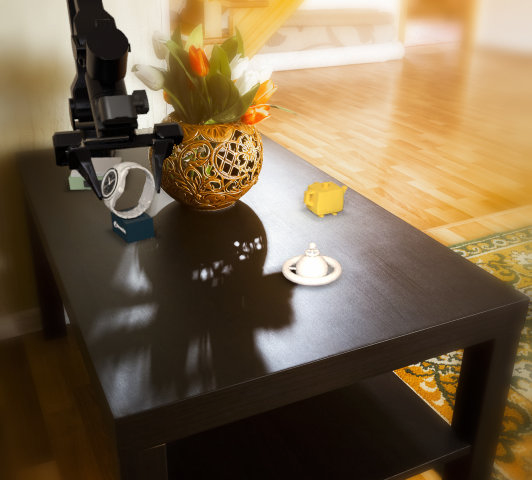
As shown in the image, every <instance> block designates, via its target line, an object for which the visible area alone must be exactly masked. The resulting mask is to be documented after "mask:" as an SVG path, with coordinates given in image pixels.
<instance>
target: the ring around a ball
mask: <svg viewBox="0 0 532 480" xmlns="http://www.w3.org/2000/svg"><path fill="white" fill-rule="evenodd" d="M293 266H295V267H293ZM329 266H330V267H331V268H332V269H333V272H331V273H329ZM292 270H294V271H295V273H294V272H292ZM281 272H282V275H283V276H284V277H285V278H286V279H287V280H288V281H290V282H292V283H295V284H297V285H302V286H303V285H304V286H312V287H313V286H323V285H328V284H330V283H333V282H334V281H337V280H338V279H339V278H340V276H342V272H343V268H342V265H341V264H340V263H339V262H338V261H337V260H336V259H335V258H332V257H330V256H327V255H323V254H321V251H320V250H319V249H317V244H316V243H315V242H309V244H308V248H307V249H306V250H304V254H299V255H295V256H293V257H290V258H288V259H287V260H286V261H285V262H284V263H283V264H282V266H281ZM328 273H329V274H328Z"/></svg>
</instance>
